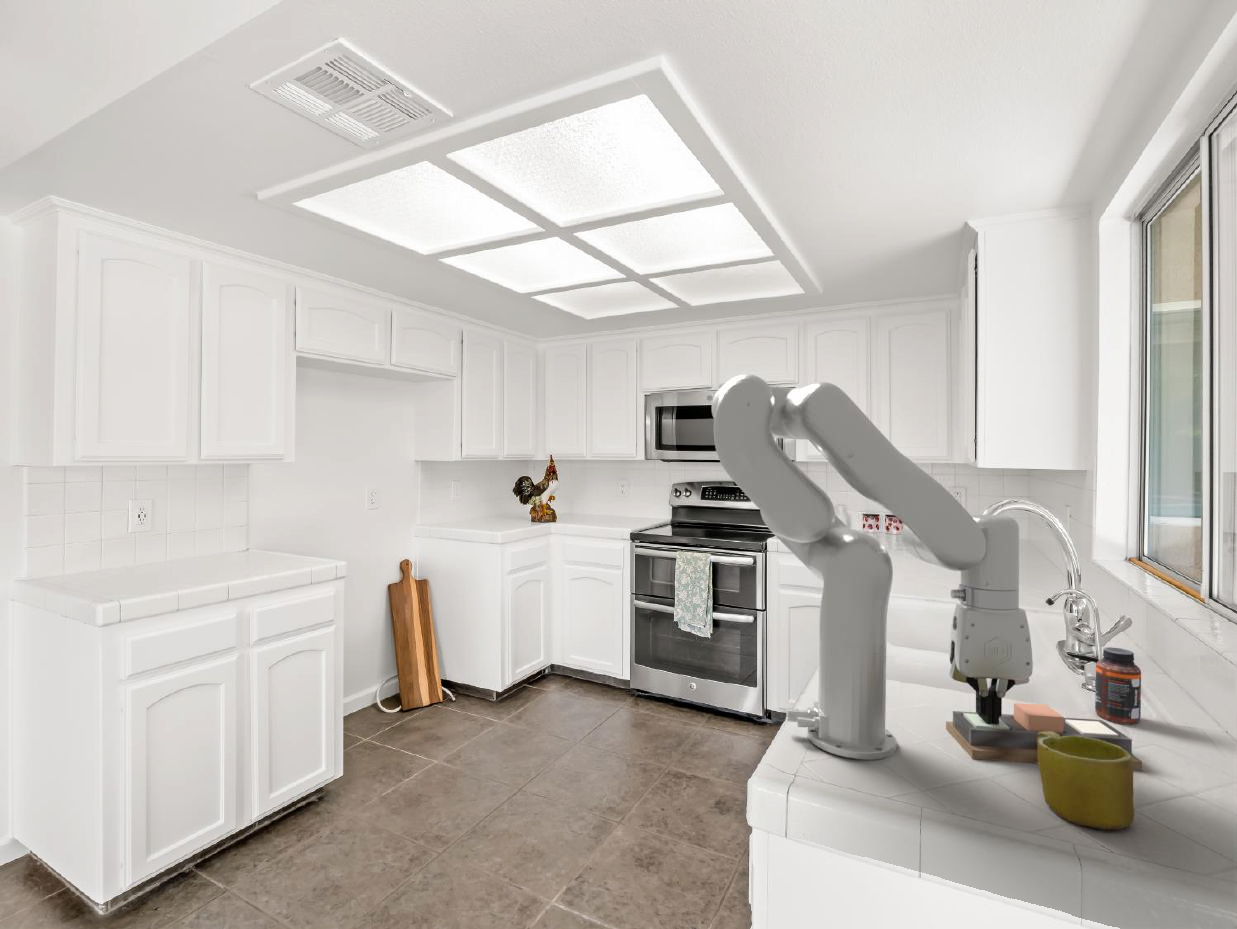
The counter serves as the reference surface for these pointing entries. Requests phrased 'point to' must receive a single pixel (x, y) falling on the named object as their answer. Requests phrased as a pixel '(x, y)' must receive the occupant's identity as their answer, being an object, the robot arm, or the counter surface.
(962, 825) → the counter surface
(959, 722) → the key panel
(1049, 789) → the mug
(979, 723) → the key sage
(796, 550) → the robot arm
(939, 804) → the counter surface
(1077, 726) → the key cream
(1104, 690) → the supplement bottle
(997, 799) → the counter surface
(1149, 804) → the counter surface
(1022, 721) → the key terracotta
